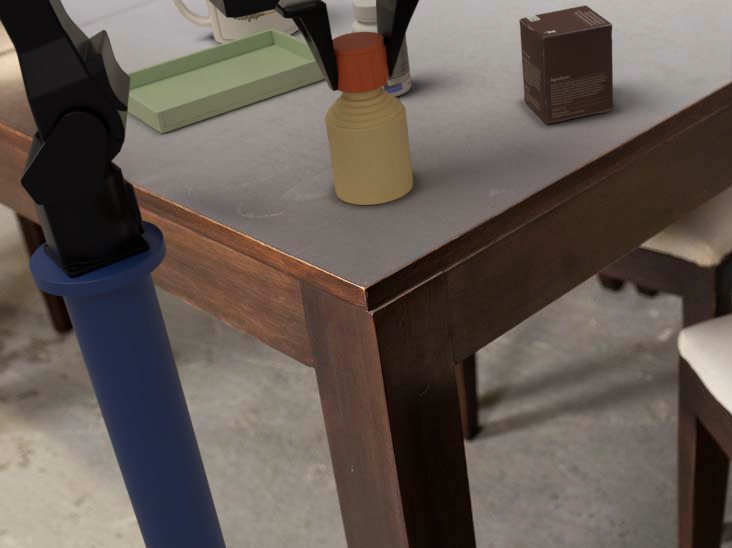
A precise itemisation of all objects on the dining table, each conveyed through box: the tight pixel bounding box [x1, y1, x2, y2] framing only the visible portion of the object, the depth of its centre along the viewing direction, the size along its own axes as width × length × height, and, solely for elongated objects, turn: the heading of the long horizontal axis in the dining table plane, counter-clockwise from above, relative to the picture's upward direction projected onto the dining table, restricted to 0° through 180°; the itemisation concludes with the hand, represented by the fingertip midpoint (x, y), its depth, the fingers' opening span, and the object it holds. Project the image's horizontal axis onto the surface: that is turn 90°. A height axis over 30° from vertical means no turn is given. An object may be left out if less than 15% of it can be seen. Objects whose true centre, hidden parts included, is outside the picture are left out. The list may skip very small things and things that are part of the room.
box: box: [518, 5, 614, 124], centre depth 91 cm, size 6×6×7 cm
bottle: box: [324, 87, 414, 206], centre depth 82 cm, size 6×6×10 cm
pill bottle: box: [351, 0, 412, 98], centre depth 100 cm, size 5×5×8 cm
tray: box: [125, 28, 325, 135], centre depth 108 cm, size 19×13×2 cm
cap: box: [332, 32, 389, 93], centre depth 79 cm, size 4×4×3 cm
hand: (360, 82), depth 80 cm, fingers closed on cap, 4 cm apart
